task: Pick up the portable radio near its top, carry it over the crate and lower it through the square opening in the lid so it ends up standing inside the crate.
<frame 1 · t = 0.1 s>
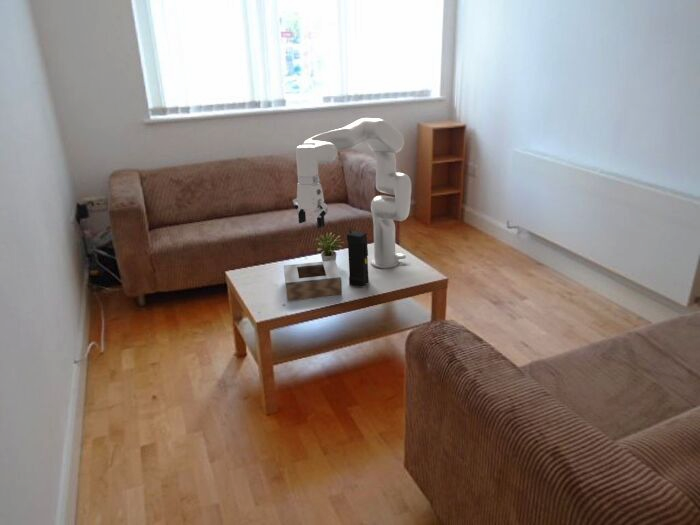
hand: (311, 224, 195), 31 cm above the table, tool pointing down, fingers open, 9 cm apart
house plant: (328, 267, 236), on the table
crate: (312, 288, 216), on the table
portable radio: (360, 284, 218), on the table
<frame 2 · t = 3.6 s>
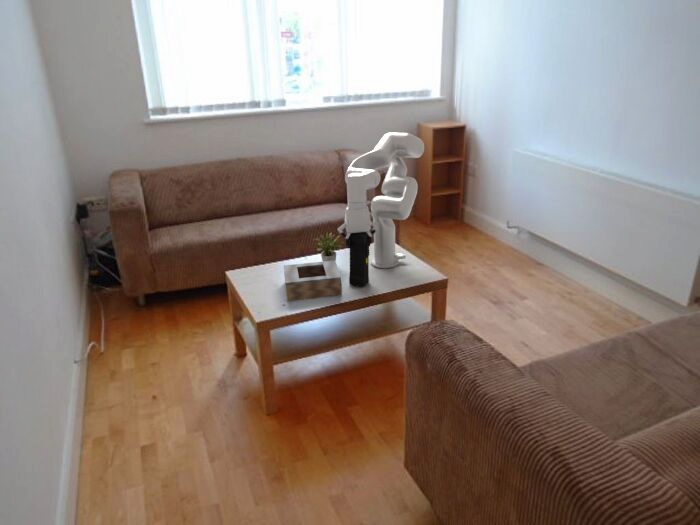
hand: (358, 245, 212), 17 cm above the table, tool pointing down, fingers closed on portable radio, 7 cm apart
portable radio: (360, 283, 218), on the table, touching gripper
everything else where it was.
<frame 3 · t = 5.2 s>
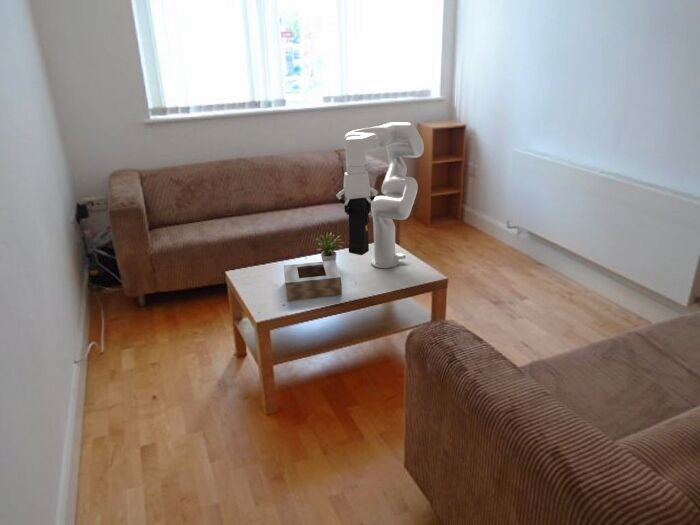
hand: (357, 212, 207), 31 cm above the table, tool pointing down, fingers closed on portable radio, 7 cm apart
portable radio: (359, 252, 214), point 14 cm above the table, touching gripper
everything else where it was.
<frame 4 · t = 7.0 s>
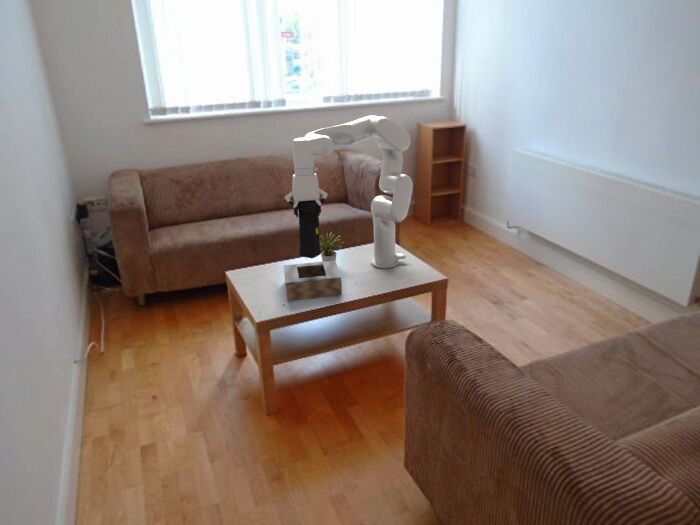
hand: (307, 215, 203), 32 cm above the table, tool pointing down, fingers closed on portable radio, 7 cm apart
portable radio: (311, 255, 210), point 15 cm above the table, touching gripper
everything else where it was.
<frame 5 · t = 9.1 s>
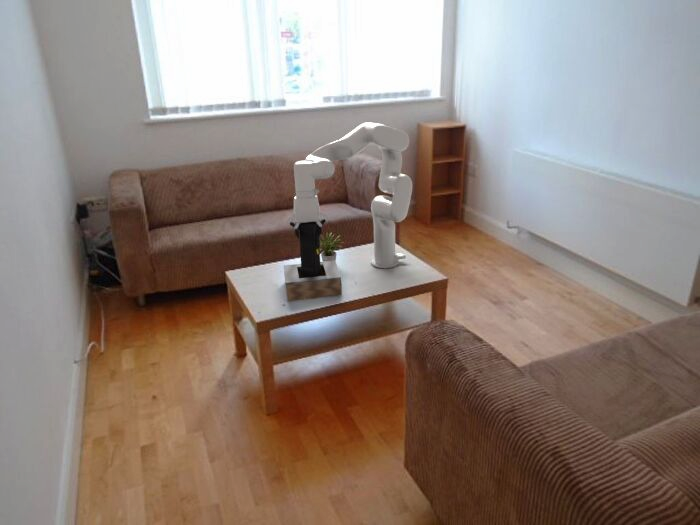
hand: (308, 236, 207), 23 cm above the table, tool pointing down, fingers closed on portable radio, 7 cm apart
portable radio: (312, 275, 213), point 6 cm above the table, touching gripper
everything else where it was.
when the fingers open (19 cm above the table, at t = 10.6 s): portable radio drops 1 cm, resting on crate.
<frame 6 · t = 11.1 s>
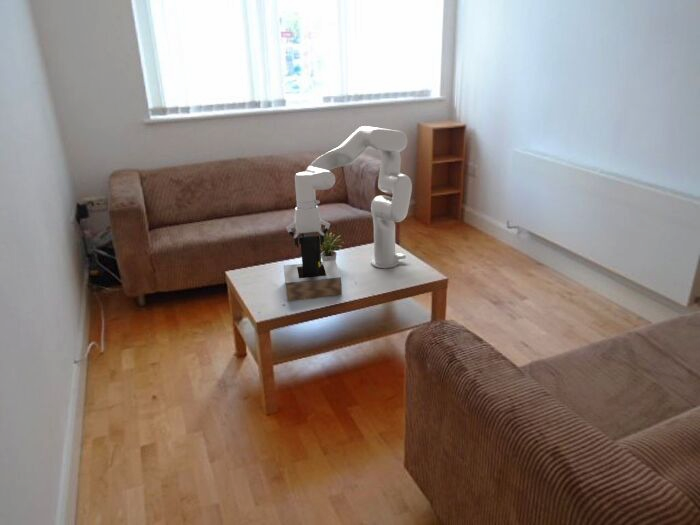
hand: (309, 245, 208), 19 cm above the table, tool pointing down, fingers open, 9 cm apart
portable radio: (314, 287, 216), resting on crate
everything else where it was.
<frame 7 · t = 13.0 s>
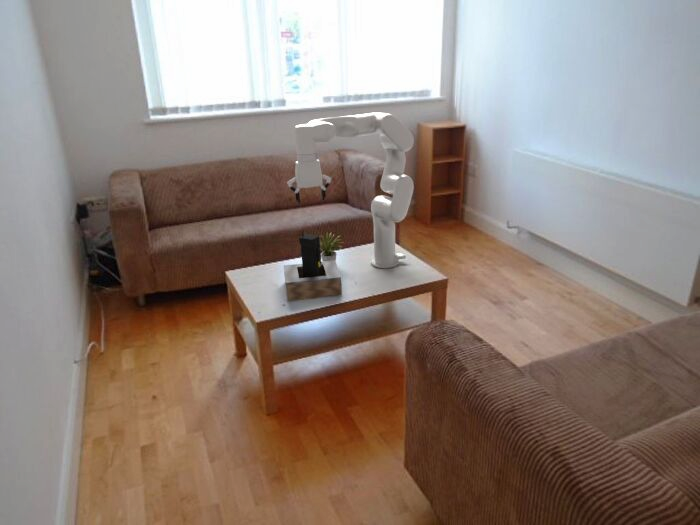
hand: (311, 200, 205), 37 cm above the table, tool pointing down, fingers open, 9 cm apart
nothing on the table moved.
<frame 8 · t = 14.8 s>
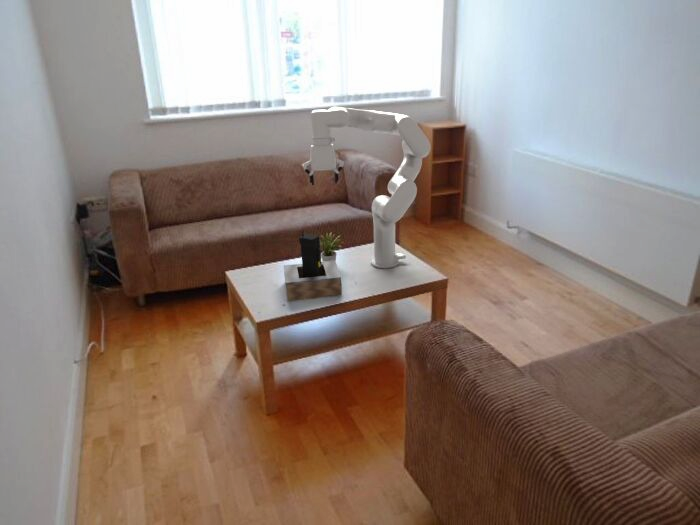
hand: (324, 183, 215), 40 cm above the table, tool pointing down, fingers open, 9 cm apart
nothing on the table moved.
at the end: portable radio inside the target area on the crate (0.8 cm from its centre), point 0.3 cm above the crate's base; the gripper is holding nothing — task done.
